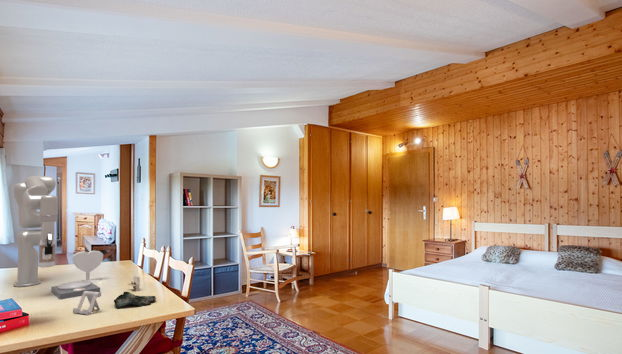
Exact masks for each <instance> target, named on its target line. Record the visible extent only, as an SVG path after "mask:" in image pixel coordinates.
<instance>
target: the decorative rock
mask: <svg viewBox="0 0 622 354" xmlns="http://www.w3.org/2000/svg"><path fill="white" fill-rule="evenodd" d="M156 299H157V298H156V296H155V295H135V294H134V293H131V292H130V291H123V293H122V294H120V295H118V296H117V297H116V298H115V299H114V300H113V303H114V304H115V305H114V307H115V309H116V310H119V309H120V308H121V307H126V306H128V305H132V306H133V305H134V306H138V307H139V306H140V308H141V307H145V306H146V305H149V304H152V302H155V301H156Z"/></svg>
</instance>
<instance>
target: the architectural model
mask: <svg viewBox="0 0 622 354" xmlns="http://www.w3.org/2000/svg"><path fill="white" fill-rule="evenodd" d="M132 278H133V281H131V283H130V282H129V283H127V284H126V285H128V286H131V287H132V288H133V291H134V292H139V291H140V282H141V281H140V279H141V278H140V277H138V276H133V277H132Z"/></svg>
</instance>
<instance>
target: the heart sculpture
mask: <svg viewBox="0 0 622 354" xmlns="http://www.w3.org/2000/svg"><path fill="white" fill-rule="evenodd" d="M103 261H104V253H103V252H102V251H99V250H90V251H88V252H87V251H79V252H75V254H73V255H72V263H73V264H74V266H75V267H76V269H78V270H80V271H81V272H85V279H84V280H83V281H90V282H92V283H93V282H94V283H95V282H100V281H101V279H98V278H97V279H90V278H91V277H90V276H91V275H90V273H91V272H92V271H94V270H95V269H97V268H98V267H99V266H100V265H101V264H102V262H103Z"/></svg>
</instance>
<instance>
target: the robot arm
mask: <svg viewBox="0 0 622 354" xmlns="http://www.w3.org/2000/svg"><path fill="white" fill-rule="evenodd" d="M56 185H57V184H56V179H55V178H54V177H53V176H49V175H30V176H28V177H26V179H25V180H24V182H18V183H16V184H15V185H14V186H13V195H14V196H13V197H14V199H15V201H16V204H17V206H18V223H19V226H20V228H23V229H25V230H22V231H19V232H18V233H17V234H16V244H17V278H16V279H17V281H16V282H15V283H14V284H13V287H18V288H19V287H31V286H36V285H40V284H41V283H42V281H41V280H40V279H39V250H37V249H36V248H34V247H37V246H39V244H40V241H41V240H42V241H43V242H44V241H45V244H46V247H45V255H48V254H52V251H53V246H52V241H53V240H54V239H55V223H57V222H58V201H59V200H58V199H59V198H58V196H56V195H51V193H52V192H53V191H54V190H55V188H56ZM38 210H39V211H38ZM38 228H39V229H38ZM27 229H28V230H27ZM52 238H53V240H52Z"/></svg>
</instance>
